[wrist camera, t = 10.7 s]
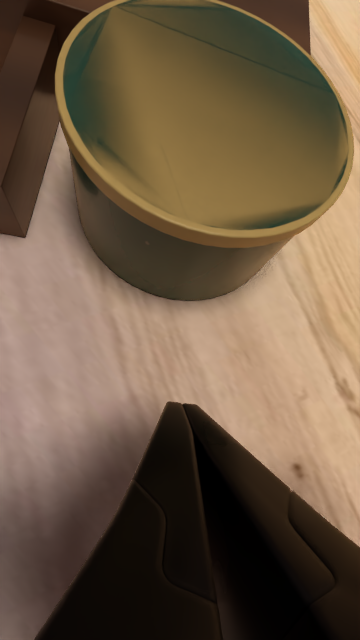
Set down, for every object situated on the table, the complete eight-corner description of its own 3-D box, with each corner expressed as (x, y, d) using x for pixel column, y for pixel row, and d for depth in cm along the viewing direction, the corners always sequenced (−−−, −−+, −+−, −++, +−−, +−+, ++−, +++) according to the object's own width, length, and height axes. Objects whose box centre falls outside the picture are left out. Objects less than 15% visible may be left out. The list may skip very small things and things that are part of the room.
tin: (229, 344, 17) (302, 300, 11) (27, 230, 17) (-25, 112, 10) (300, 190, 22) (382, 92, 15) (141, 95, 21) (156, -48, 15)
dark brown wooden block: (267, 284, 19) (318, 241, 14) (-206, 193, 15) (-349, 91, 10) (272, -23, 28) (304, -109, 24) (-18, -130, 24) (-48, -260, 20)
